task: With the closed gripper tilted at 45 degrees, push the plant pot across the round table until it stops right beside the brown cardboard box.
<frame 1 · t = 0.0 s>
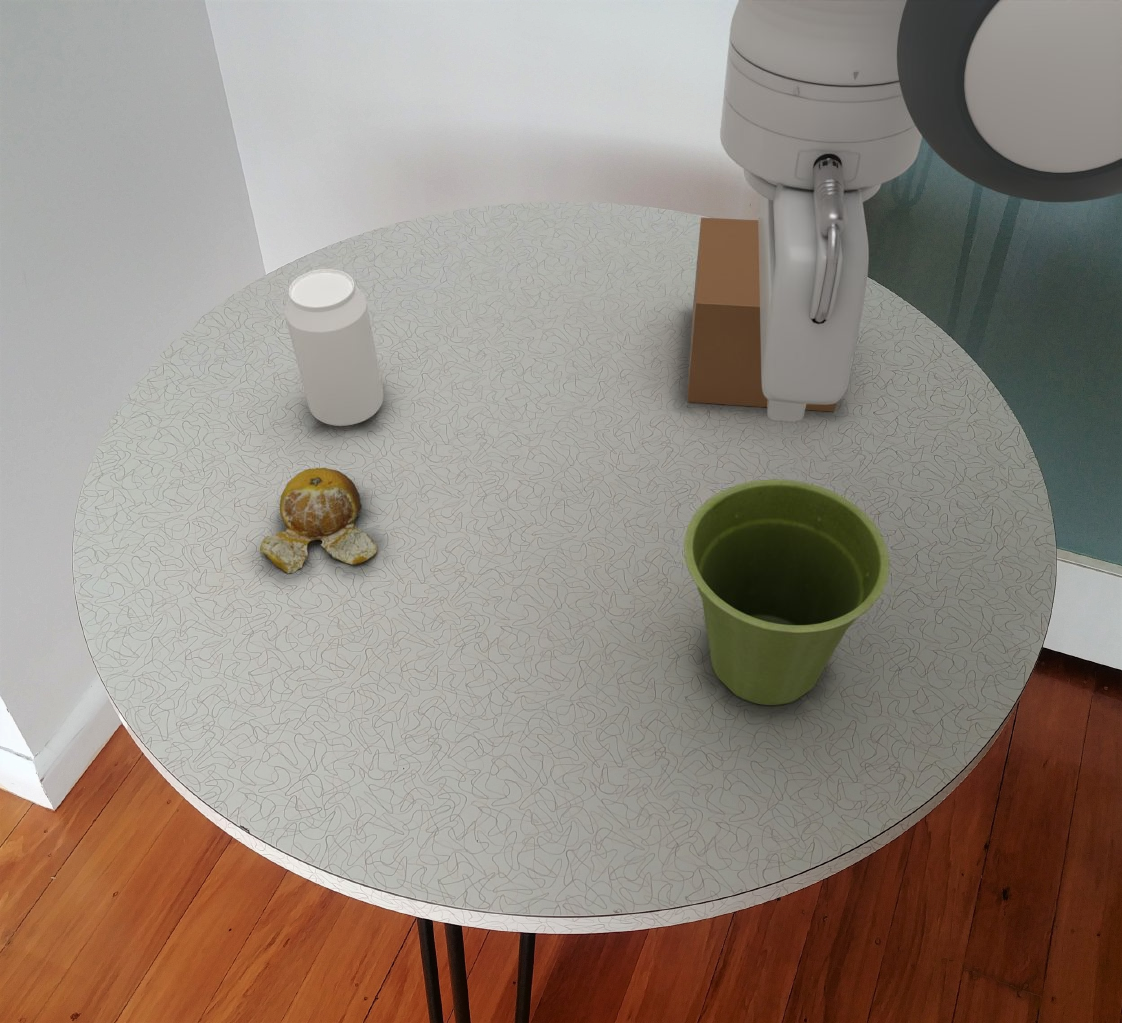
hand: (781, 353, 57), 22 cm above the table, tool pointing down, fingers open, 8 cm apart
plant pot: (762, 661, 70), on the table
fruit: (316, 537, 79), on the table
carton: (759, 360, 91), on the table
beverage can: (348, 409, 88), on the table
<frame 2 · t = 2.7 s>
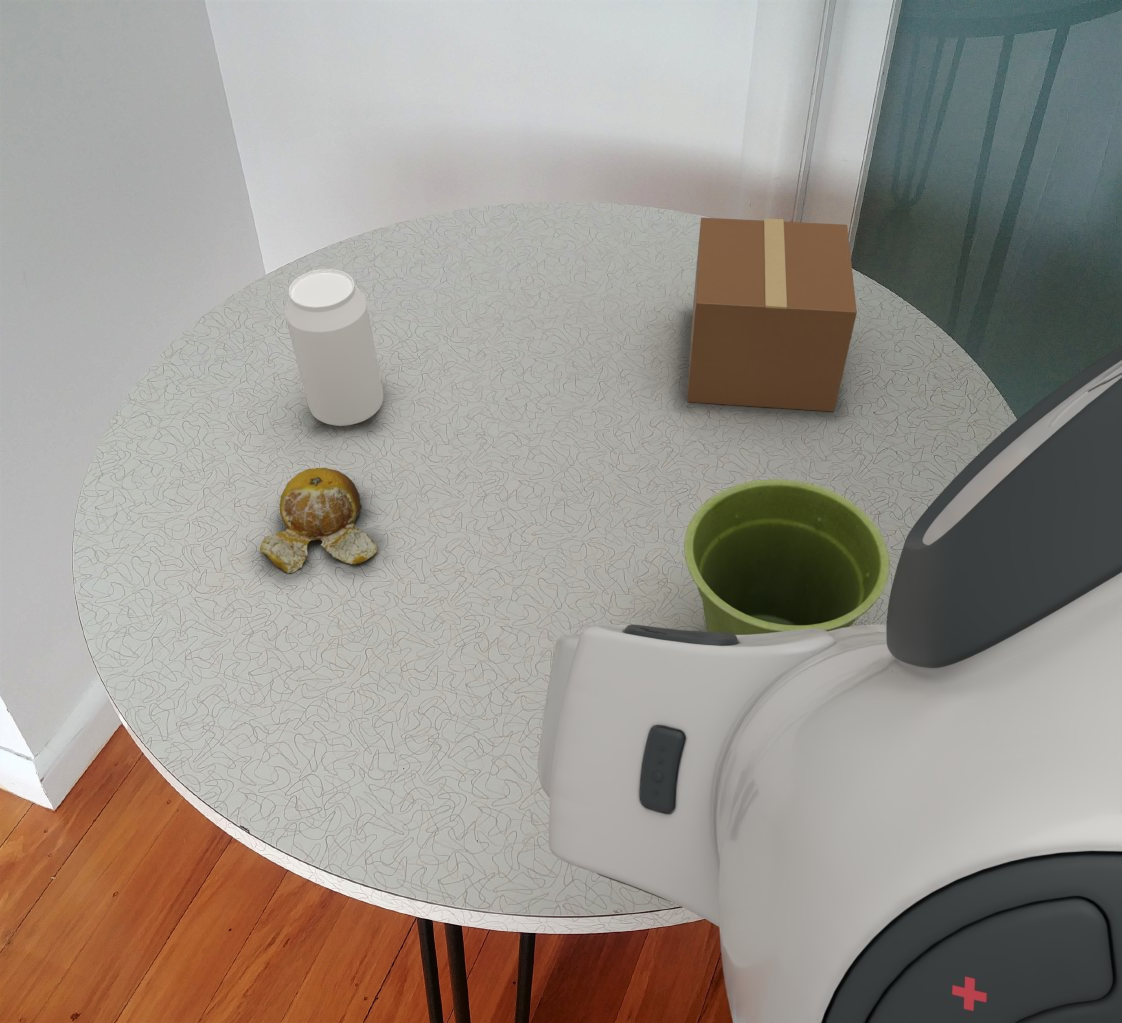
hand: (827, 709, 41), 23 cm above the table, tool tilted 40°, fingers open, 8 cm apart
nothing on the table moved.
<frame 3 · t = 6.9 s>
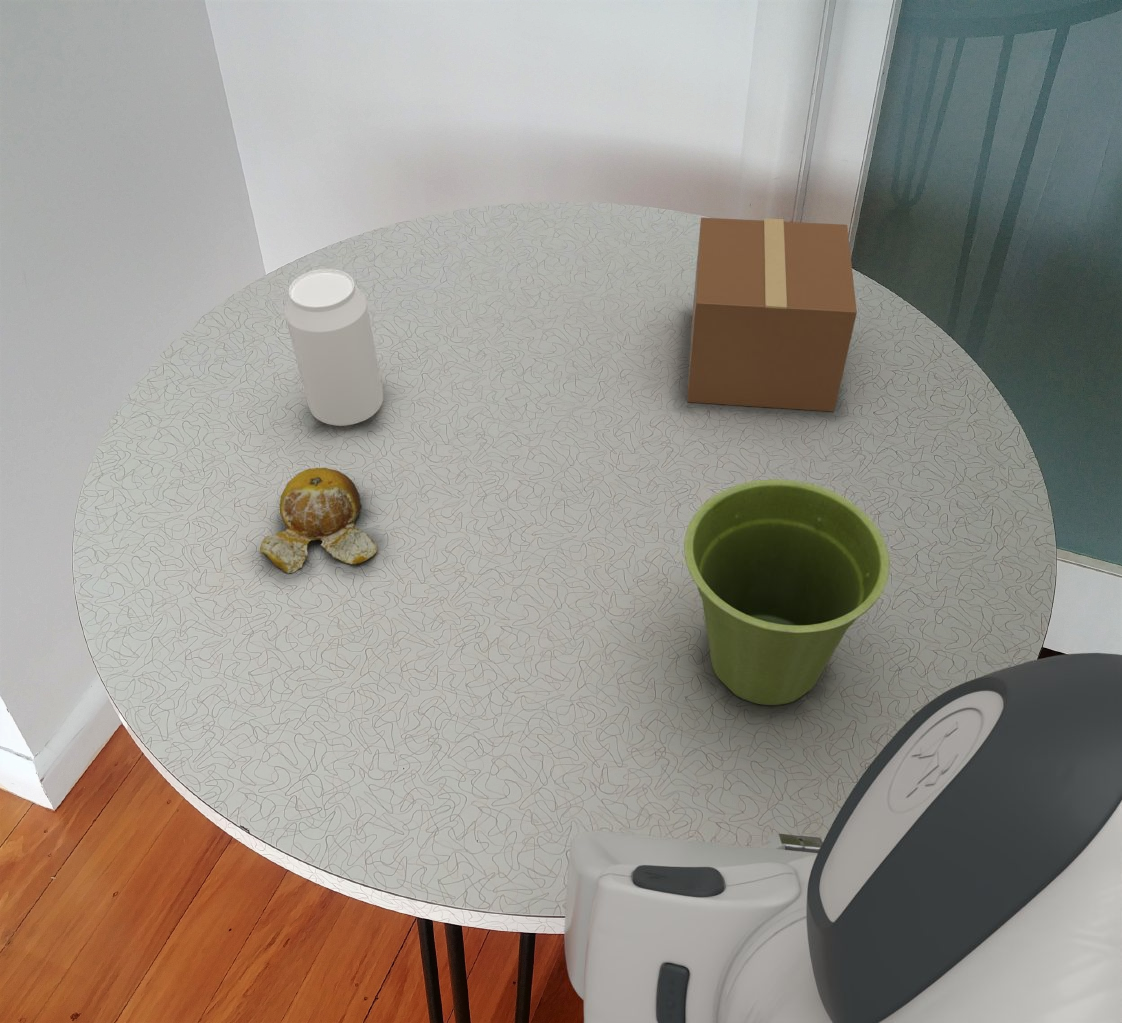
hand: (796, 851, 49), 12 cm above the table, tool tilted 45°, fingers closed
nothing on the table moved.
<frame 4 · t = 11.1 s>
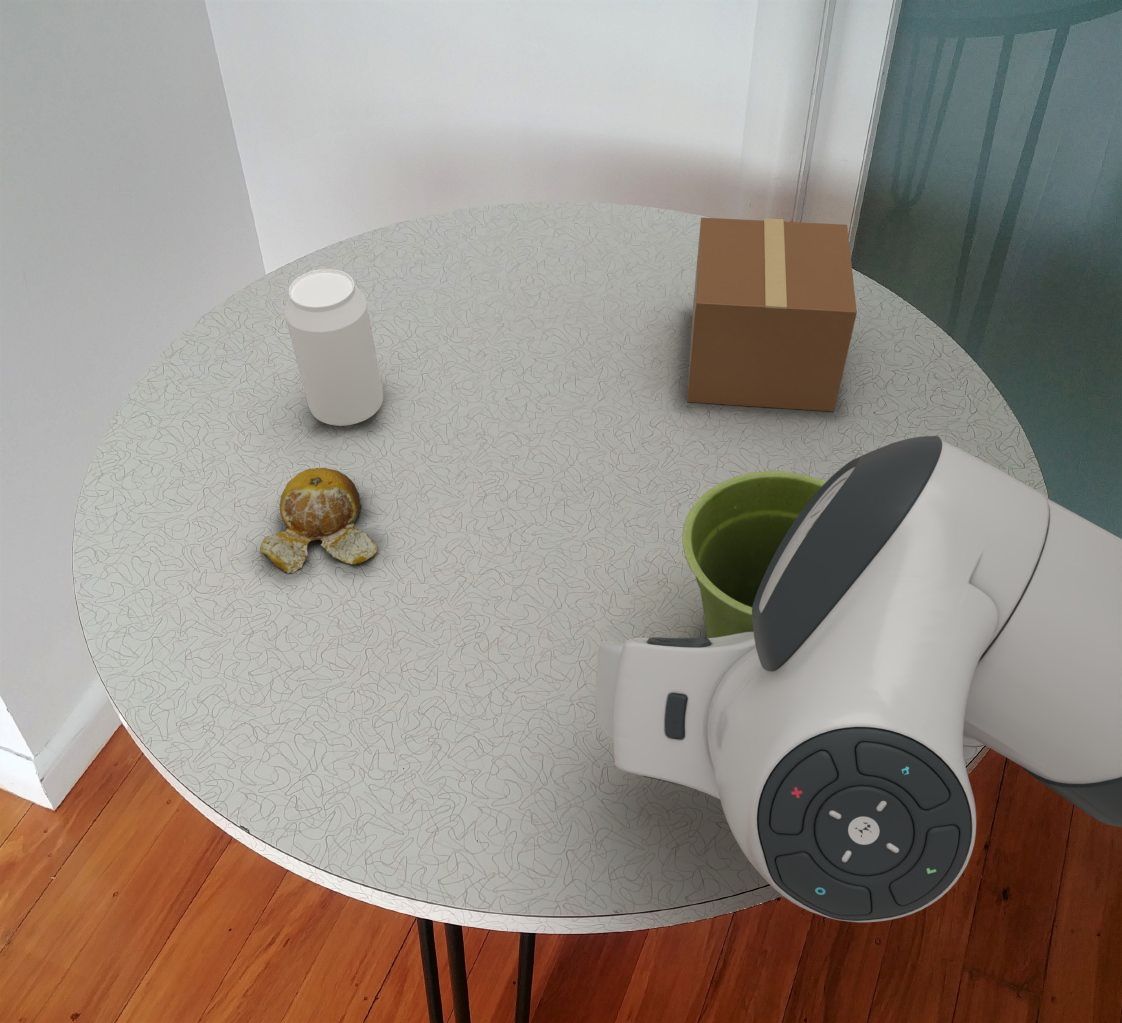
hand: (766, 670, 64), 4 cm above the table, tool tilted 45°, fingers closed, pressing on plant pot
plant pot: (760, 652, 71), on the table, touching gripper
everything else where it was.
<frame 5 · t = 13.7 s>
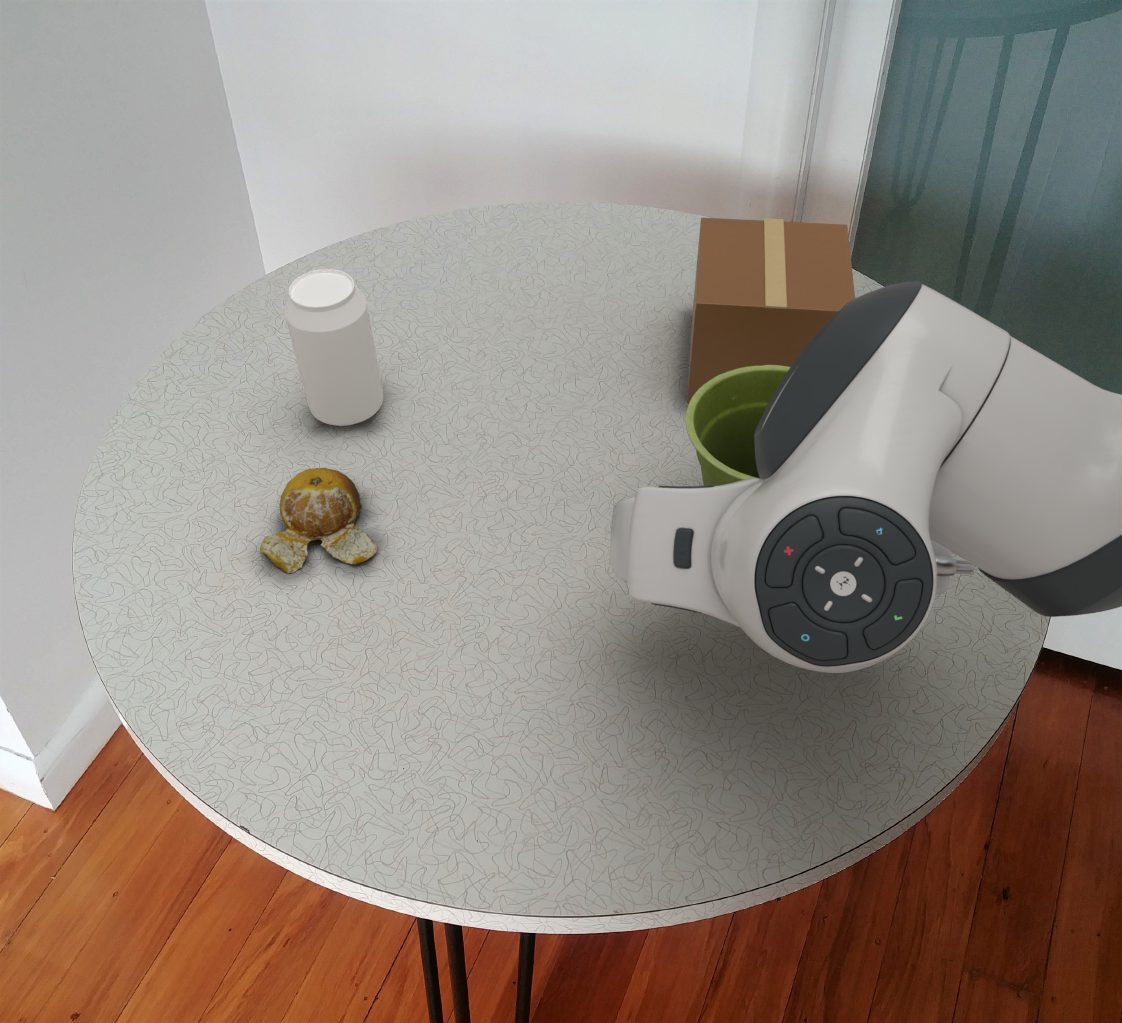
hand: (762, 540, 71), 5 cm above the table, tool tilted 45°, fingers closed, pressing on plant pot
plant pot: (755, 536, 78), on the table, touching gripper
everything else where it was.
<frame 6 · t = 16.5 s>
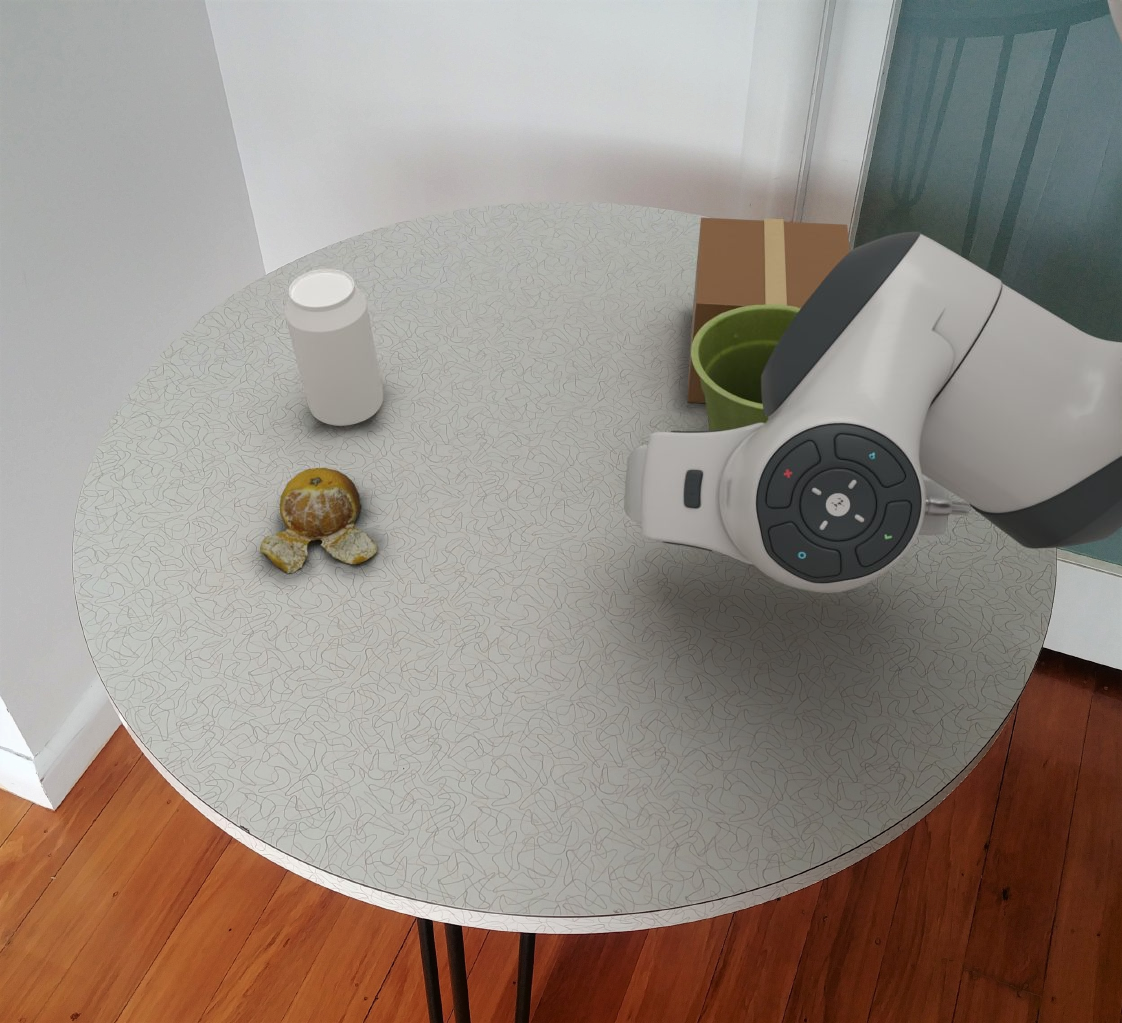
hand: (771, 491, 75), 4 cm above the table, tool tilted 45°, fingers closed
plant pot: (756, 468, 83), on the table
everything else where it was.
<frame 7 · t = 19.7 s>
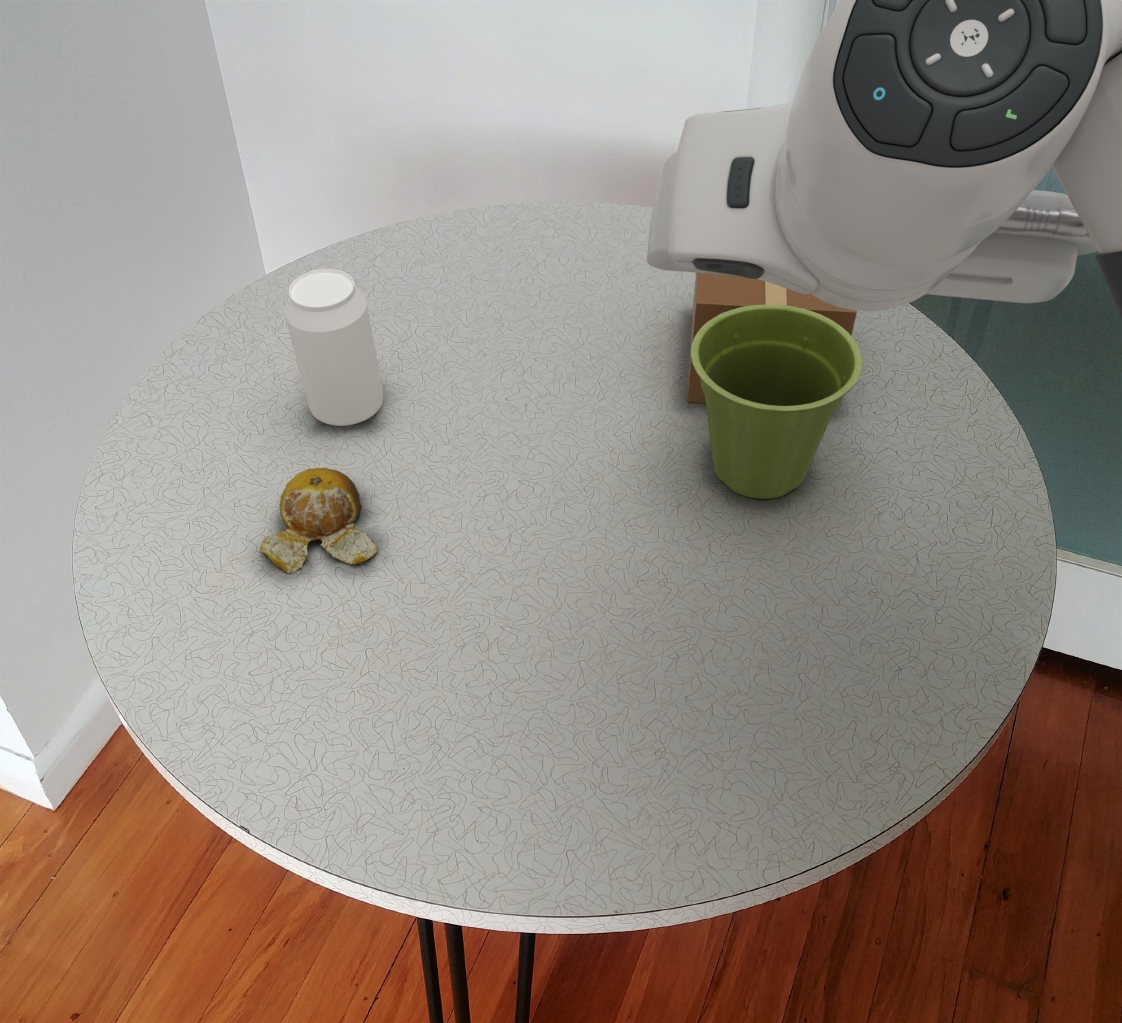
hand: (834, 274, 59), 24 cm above the table, tool tilted 45°, fingers closed
nothing on the table moved.
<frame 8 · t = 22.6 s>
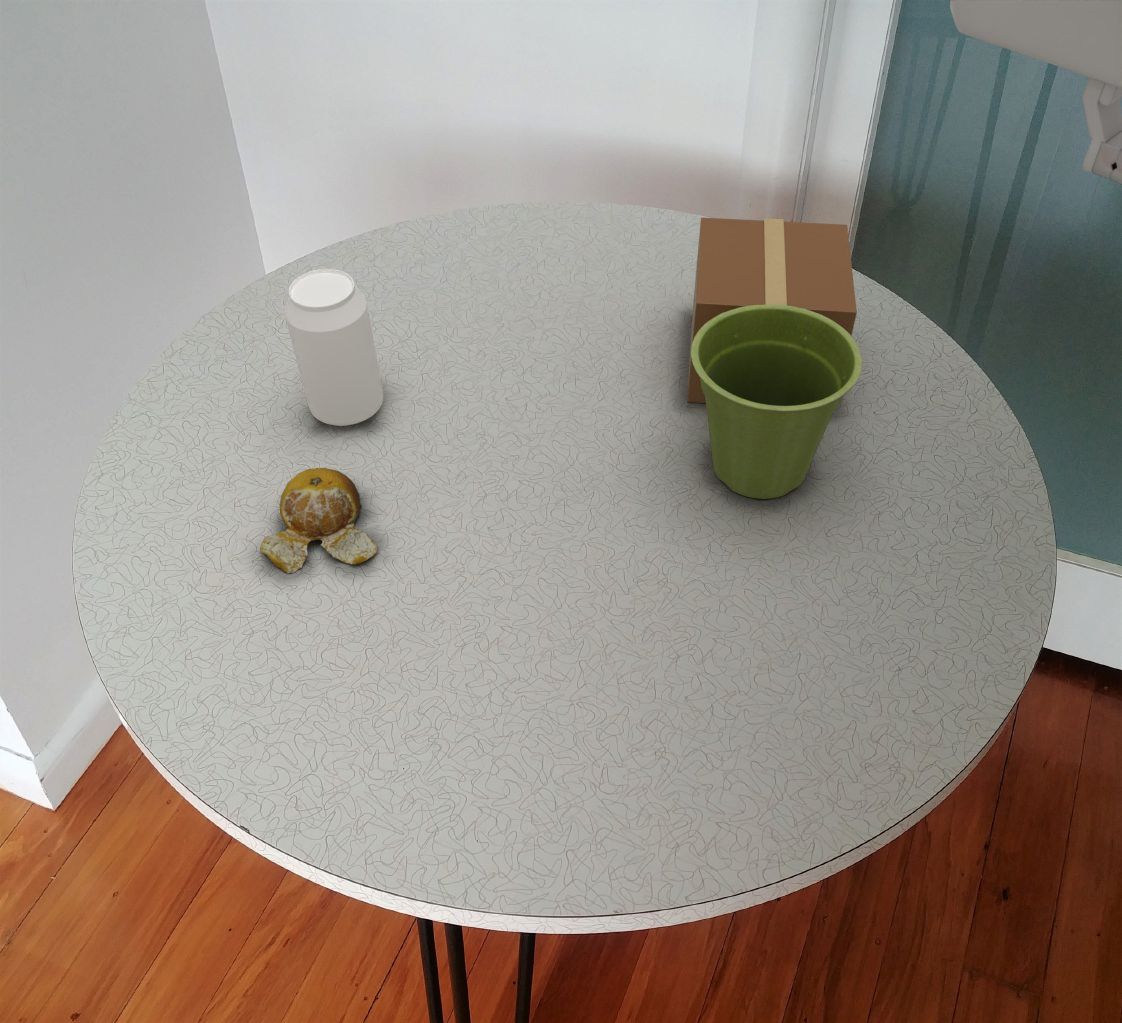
hand: (1116, 176, 52), 31 cm above the table, tool pointing down, fingers closed
nothing on the table moved.
at the end: plant pot 13.1 cm from the carton (horizontally); plant pot tilted 0°; plant pot moved 18.2 cm from its start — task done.
